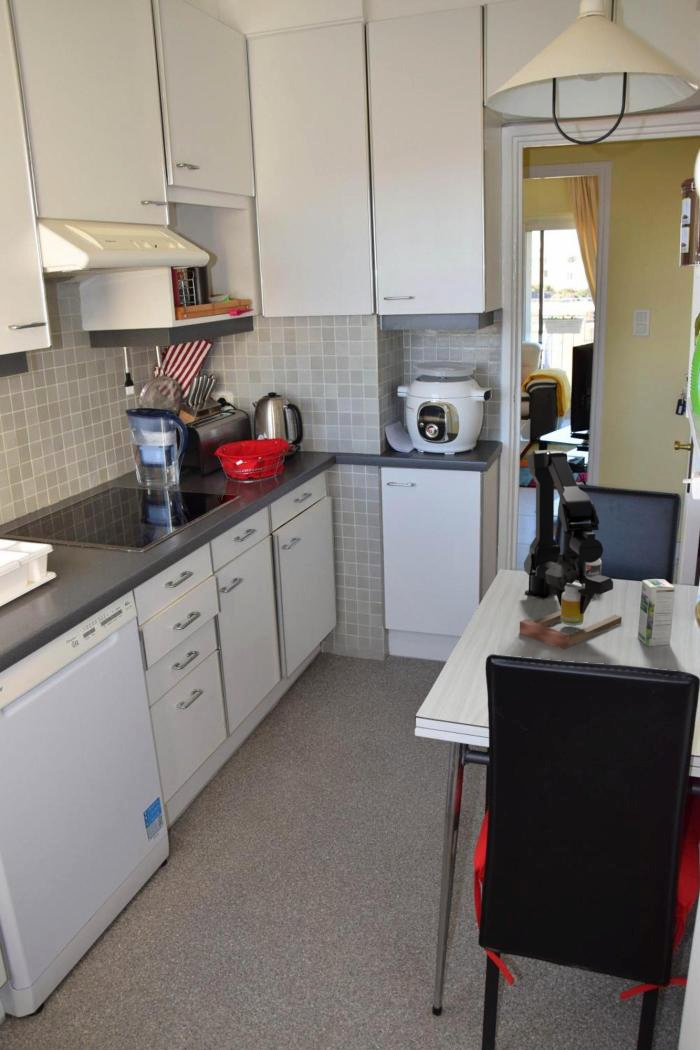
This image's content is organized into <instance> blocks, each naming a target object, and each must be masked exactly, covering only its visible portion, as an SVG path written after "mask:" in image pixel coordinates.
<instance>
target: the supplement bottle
mask: <svg viewBox="0 0 700 1050" xmlns="http://www.w3.org/2000/svg"><path fill="white" fill-rule="evenodd" d="M582 588H583V586H582V585H581V584H580V583H578V582H575V581H574V582H573V583H572V584H570V583H567V584H566V586H565V592H563V593H562V598H561V607H560V610H561V621H560V622H561V623H562V624H563V625H566V626H573V627H575V626H580V625H582V624H583V623H584V617H585V616H584V614H585V613H584V614H580V593H579V592H578V590H580V589H582Z"/></svg>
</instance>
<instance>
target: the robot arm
mask: <svg viewBox="0 0 700 1050" xmlns="http://www.w3.org/2000/svg"><path fill="white" fill-rule="evenodd" d="M527 466H528V469H529V474H530V476H531V478H532V480H533V481H534V482H535V537H534V539H533V540H532V542H531V543H530V545H529V551H528V554H527V556H526V558H525V560H524V562H523V569H524V571H525V573H526V574H527V575H528V589H527V590H525V591H524V594H526V595H529V596H533V597H536V598H539V599H540V600H541V599H542V600H544V599H547V598H550V597H551V596H556V598H557V600H558V604H559V607H560V608H561V598H562V593H563V592H565V586H566V584H567V583H570V584H572V583H573V582H576V583H582V584H583V586H582V589H580V590H578V592H579V593H580V614H585V612H586V610H587V609H588V607H589V605H590V603H591V601H592V599H593V598H594V596H595V595H602V594H605V593H607V592H609V591H612V590H613V589H614V581H613V579H612V578H611V577H608V576H606V575H602V574H601V575H597V576H594V577H591V578H590V577H587V576H586V574H589V569H586V564H587V562H588V563H592V562H595V561H597V560H598V559H599V558H600V559H601V557H602V556H603V553H604V547H603V544H602V543H601V541H600V540H598V539H597V538H596V533H595V532H593V531H599V523H600V519H599V516H598V513H597V509H596V507H595V505H594V503H593V502H592V500H591V498H590V497H589V495H588V493H587V492H585V491H583V490H581V489H580V488H579V486H578V483H577V481H576V479H575V476H574V474H573V471H572V468H571V466H570V465H569V462H568V454H567V452H566V451H564V450H557V449H544V450H543V449H542V450H541V449H540V450H532V451H531V453H530V454H529V455H528V457H527ZM555 489H556V491H557V493H558V496H559V499H560V501H559V505H558V518H559V520H560V522H561V525H562V526H561V527H562V528H563V531H562V551H561V547H560V545H558V542H557V541H556V540H555V537H554V536H555V535H554V533H555V531H554V529H555V525H554V524H555V523H554V522H555V516H554V515H555Z"/></svg>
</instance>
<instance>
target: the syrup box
mask: <svg viewBox="0 0 700 1050" xmlns="http://www.w3.org/2000/svg"><path fill="white" fill-rule="evenodd" d="M675 590H676V587H675V586H673V585H672V584H671V583H670V582H668V581H667V580H666V579H661V578H660V579H659V578H652V579H643V580H642V582H641V592H640V593H641V594H640V604H639V606H640V607H639V616H638V617H639V618H638V626H637V627H638V629H637V630H638V631H637V638H638V639H640V640H641V642H642V643H644V645H645V646H647V647H655V646H656V647H657V646H668V645H671V640H672V639H671V638H672V627H673V616H674V604H675V594H676V593H675V592H676V591H675Z"/></svg>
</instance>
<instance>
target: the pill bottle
mask: <svg viewBox="0 0 700 1050" xmlns="http://www.w3.org/2000/svg"><path fill="white" fill-rule="evenodd" d="M602 565H603V563H602V560H601V557H600V558H599V559H598V560H597V561H595V562H592V563H588V562H587V564H586V569H589V574H586V576H587V577H590V578H591V577H594V576H597V575H602ZM580 584H581V585H582V587H583V584H582V583H580Z"/></svg>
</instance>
